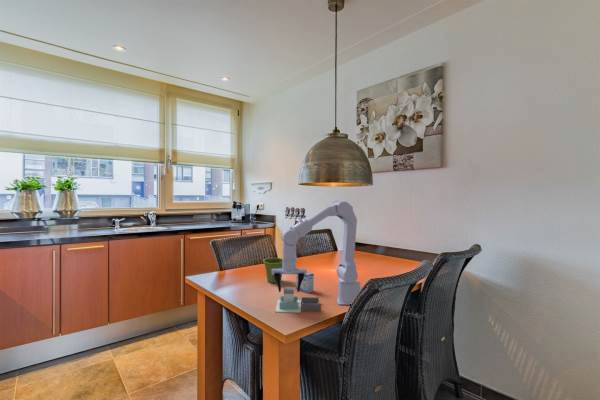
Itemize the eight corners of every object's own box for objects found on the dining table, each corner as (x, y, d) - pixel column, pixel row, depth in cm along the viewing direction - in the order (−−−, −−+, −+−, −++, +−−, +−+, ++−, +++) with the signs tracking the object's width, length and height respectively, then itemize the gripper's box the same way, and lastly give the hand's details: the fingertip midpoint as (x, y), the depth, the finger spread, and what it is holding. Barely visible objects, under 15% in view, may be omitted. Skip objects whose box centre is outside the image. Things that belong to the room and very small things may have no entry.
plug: (293, 303, 127) (293, 287, 127) (293, 307, 123) (293, 290, 123) (284, 303, 127) (284, 287, 127) (283, 307, 123) (283, 290, 123)
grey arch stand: (318, 303, 130) (318, 297, 130) (319, 310, 121) (319, 304, 121) (301, 302, 130) (301, 297, 130) (301, 310, 121) (301, 304, 121)
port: (300, 300, 132) (300, 294, 132) (300, 312, 119) (300, 305, 119) (277, 300, 132) (277, 293, 132) (275, 312, 119) (275, 305, 119)
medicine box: (295, 289, 148) (295, 271, 148) (302, 287, 151) (302, 270, 151) (307, 293, 142) (307, 275, 142) (313, 291, 145) (314, 273, 145)
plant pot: (258, 282, 158) (258, 261, 158) (271, 277, 168) (271, 257, 168) (277, 286, 152) (277, 263, 152) (289, 280, 163) (289, 259, 163)
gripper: (270, 261, 121) (270, 294, 121) (307, 261, 121) (306, 294, 121) (272, 257, 128) (272, 288, 128) (306, 257, 128) (306, 289, 128)
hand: (289, 291), depth 125 cm, fingers open, 7 cm apart
